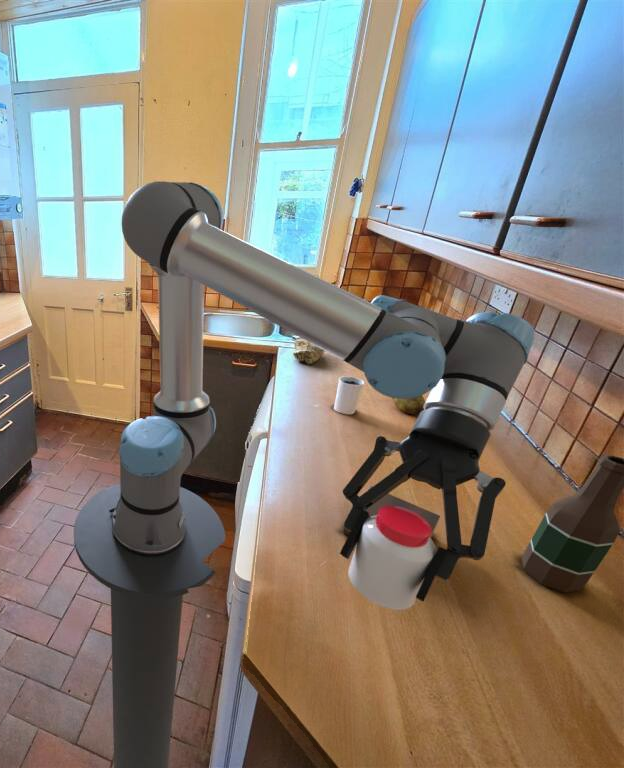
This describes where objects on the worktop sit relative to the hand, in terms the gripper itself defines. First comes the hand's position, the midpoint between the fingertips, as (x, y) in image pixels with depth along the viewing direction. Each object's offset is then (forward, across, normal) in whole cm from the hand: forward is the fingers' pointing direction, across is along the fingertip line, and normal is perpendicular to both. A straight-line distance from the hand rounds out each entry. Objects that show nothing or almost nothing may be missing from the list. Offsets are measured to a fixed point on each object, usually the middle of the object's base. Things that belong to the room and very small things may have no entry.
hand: (379, 576), depth 50 cm
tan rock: (-70, +61, -95) cm, 133 cm away
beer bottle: (-17, -17, -42) cm, 48 cm away
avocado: (-54, +19, -79) cm, 97 cm away
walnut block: (-10, +4, -34) cm, 36 cm away
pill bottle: (+1, 0, -5) cm, 5 cm away
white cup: (-43, +31, -68) cm, 87 cm away
